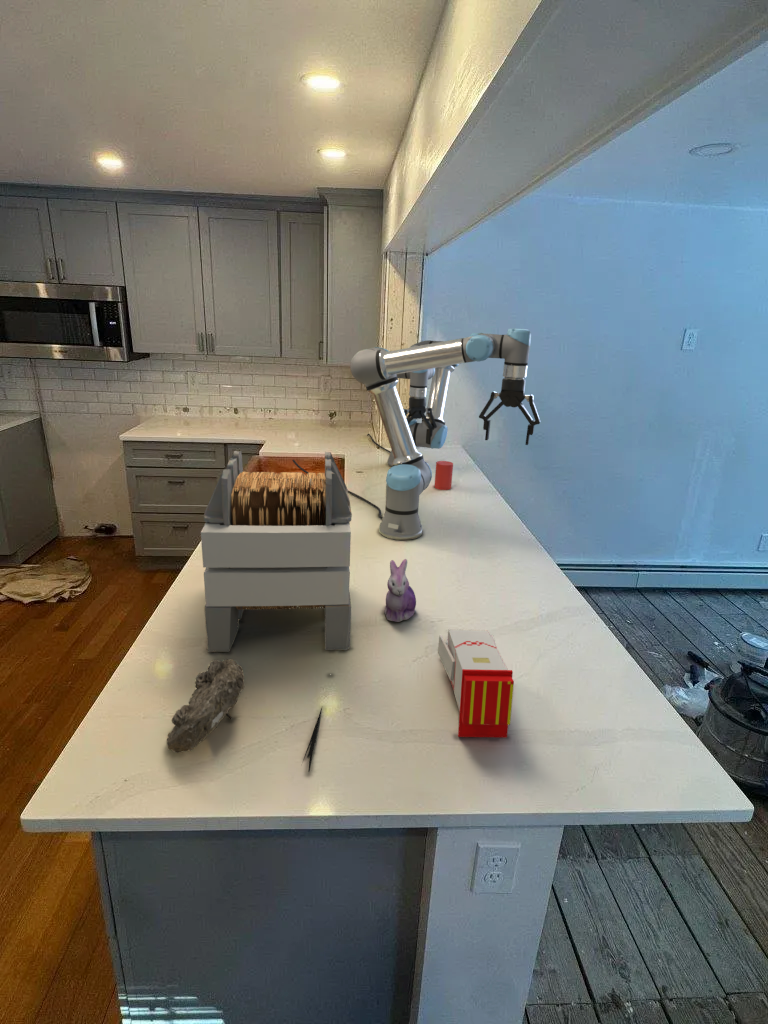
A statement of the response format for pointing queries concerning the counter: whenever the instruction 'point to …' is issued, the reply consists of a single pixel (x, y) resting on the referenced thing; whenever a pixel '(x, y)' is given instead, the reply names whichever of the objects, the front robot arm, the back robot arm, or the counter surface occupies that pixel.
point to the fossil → (206, 705)
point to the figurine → (399, 594)
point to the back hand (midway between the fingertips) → (415, 445)
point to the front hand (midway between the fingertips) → (506, 441)
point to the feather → (313, 740)
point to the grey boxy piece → (277, 549)
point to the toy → (478, 682)
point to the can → (443, 475)
